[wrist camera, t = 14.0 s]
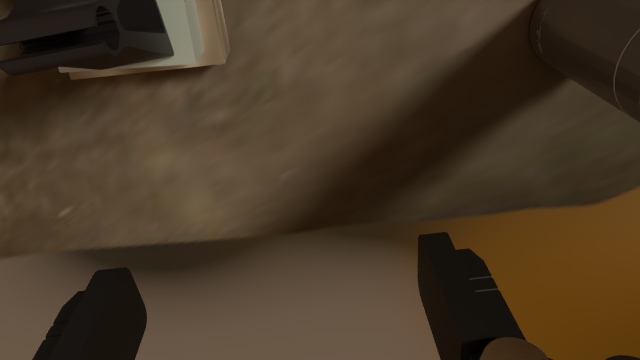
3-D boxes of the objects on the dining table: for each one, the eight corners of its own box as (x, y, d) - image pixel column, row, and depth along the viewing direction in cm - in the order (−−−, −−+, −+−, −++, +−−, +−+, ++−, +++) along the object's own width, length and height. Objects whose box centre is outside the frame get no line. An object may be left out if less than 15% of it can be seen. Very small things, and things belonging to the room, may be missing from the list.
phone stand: (174, 54, 37) (131, 112, 27) (102, 68, 37) (32, 130, 27) (133, -71, 32) (61, -59, 22) (50, -55, 33) (-58, -36, 22)
